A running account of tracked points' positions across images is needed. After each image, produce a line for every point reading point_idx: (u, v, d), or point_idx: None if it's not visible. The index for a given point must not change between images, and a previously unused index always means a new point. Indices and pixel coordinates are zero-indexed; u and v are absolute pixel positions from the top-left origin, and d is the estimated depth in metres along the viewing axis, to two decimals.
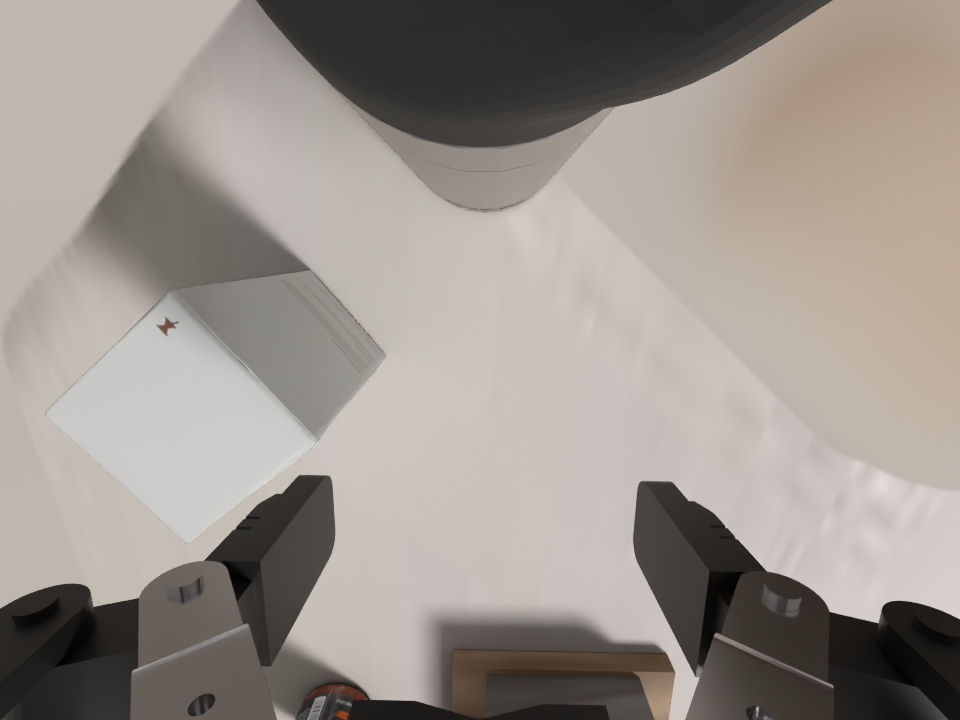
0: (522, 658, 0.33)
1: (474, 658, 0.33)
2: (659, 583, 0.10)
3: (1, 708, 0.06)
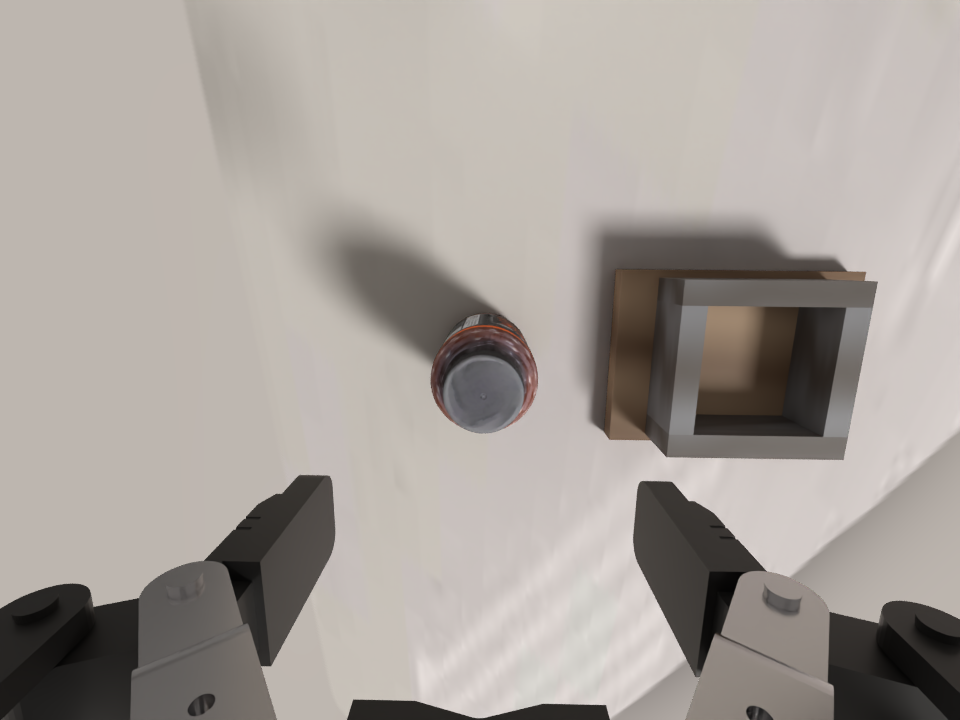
0: None
1: None
2: (659, 583, 0.10)
3: (1, 708, 0.06)
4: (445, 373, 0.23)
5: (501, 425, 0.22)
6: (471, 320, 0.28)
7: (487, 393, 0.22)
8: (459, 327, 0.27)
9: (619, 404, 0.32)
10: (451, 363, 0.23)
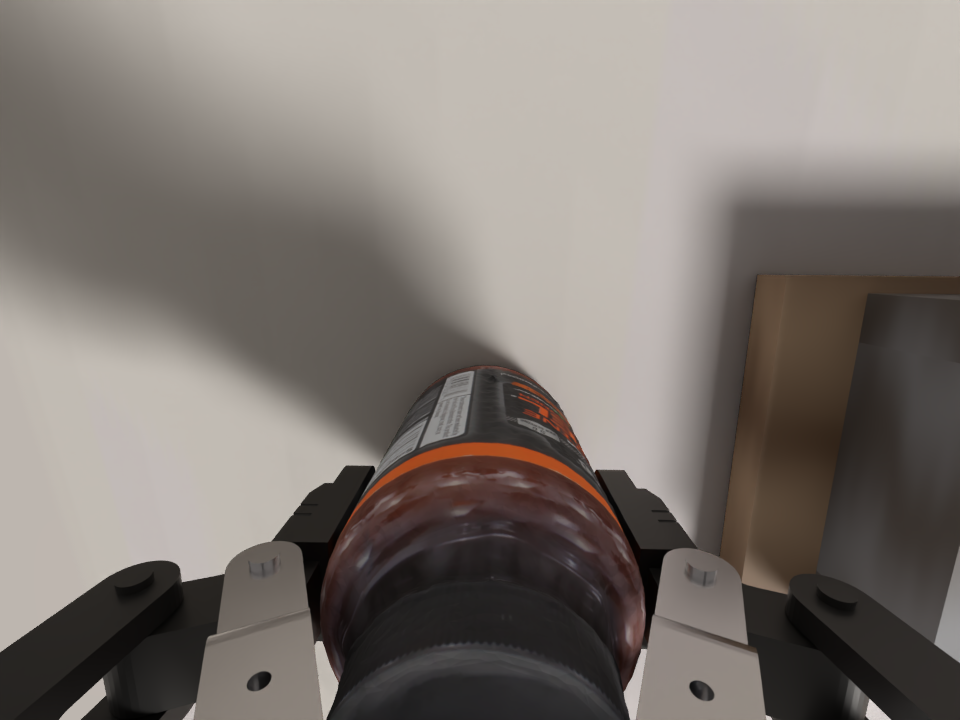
0: (932, 276, 0.14)
1: (821, 275, 0.14)
2: None
3: (95, 673, 0.06)
4: (352, 627, 0.07)
5: None
6: (452, 398, 0.12)
7: None
8: (420, 422, 0.11)
9: (761, 552, 0.15)
10: (370, 600, 0.07)
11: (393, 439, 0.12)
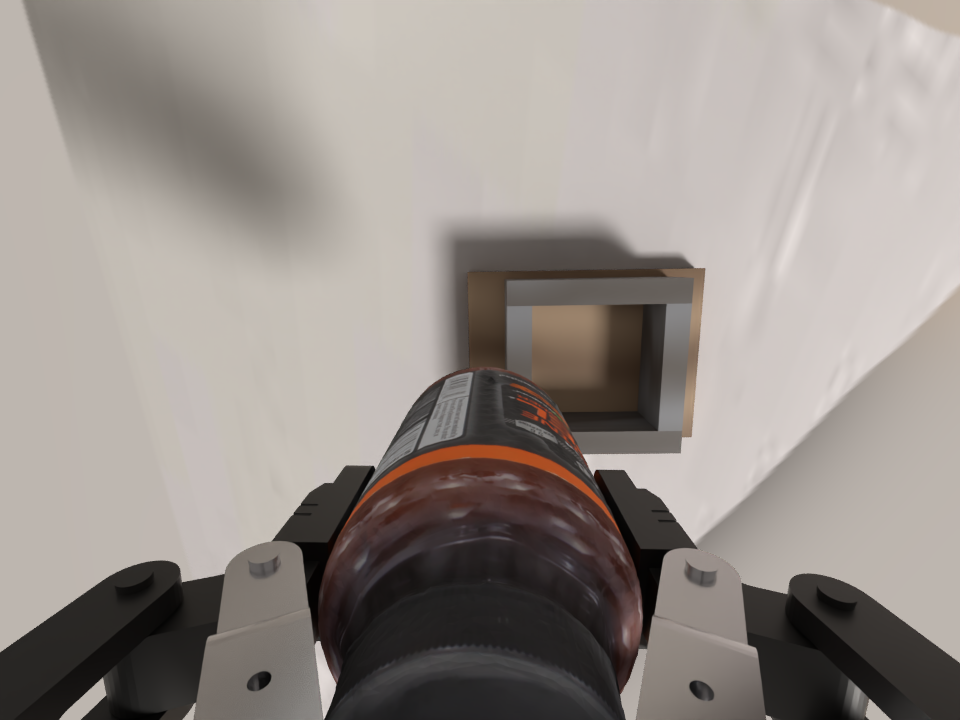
0: None
1: None
2: None
3: (95, 673, 0.06)
4: (350, 629, 0.07)
5: None
6: (450, 400, 0.12)
7: None
8: (418, 424, 0.11)
9: None
10: (367, 602, 0.07)
11: (392, 440, 0.13)
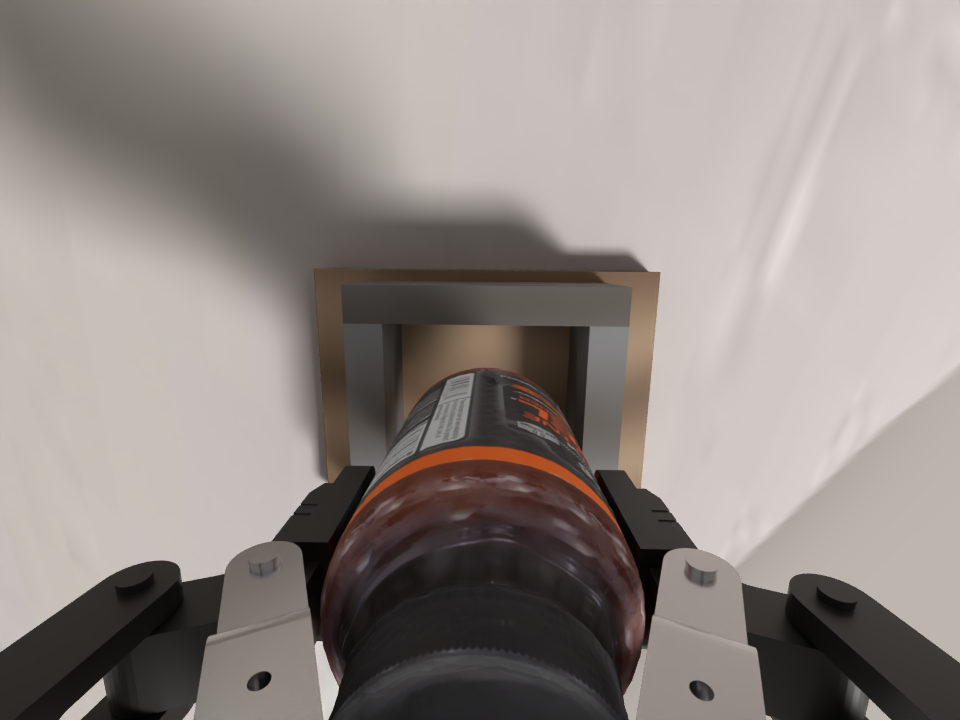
0: None
1: None
2: None
3: (95, 673, 0.06)
4: (352, 631, 0.07)
5: None
6: (452, 401, 0.12)
7: None
8: (420, 425, 0.11)
9: (336, 456, 0.23)
10: (370, 605, 0.07)
11: None
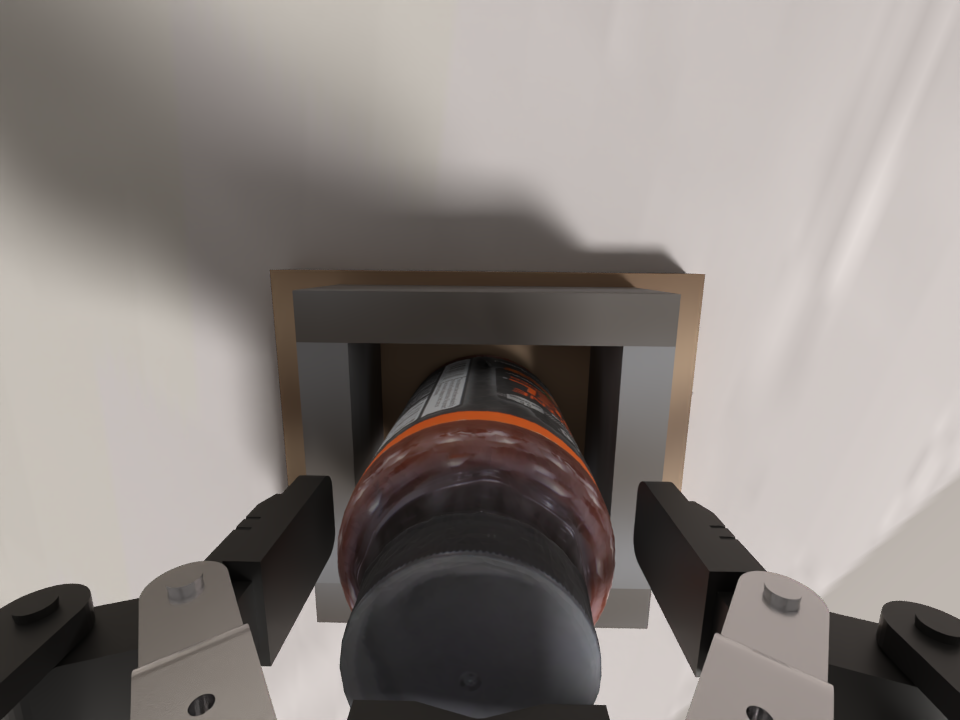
0: None
1: None
2: (659, 583, 0.10)
3: (1, 708, 0.06)
4: (366, 560, 0.08)
5: None
6: (449, 380, 0.13)
7: (484, 670, 0.07)
8: (421, 400, 0.12)
9: None
10: (380, 536, 0.08)
11: None
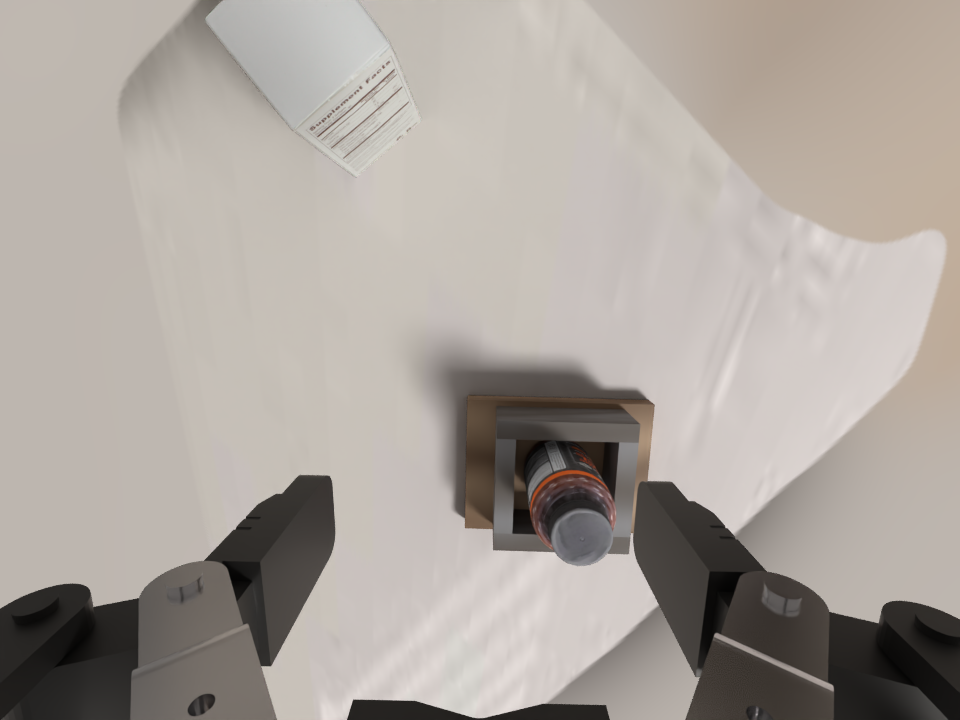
0: (526, 398, 0.39)
1: (485, 397, 0.39)
2: (659, 583, 0.10)
3: (1, 708, 0.06)
4: (547, 514, 0.30)
5: (595, 560, 0.29)
6: (554, 454, 0.35)
7: (586, 536, 0.28)
8: (546, 463, 0.34)
9: (471, 501, 0.40)
10: (552, 507, 0.30)
11: (531, 467, 0.36)
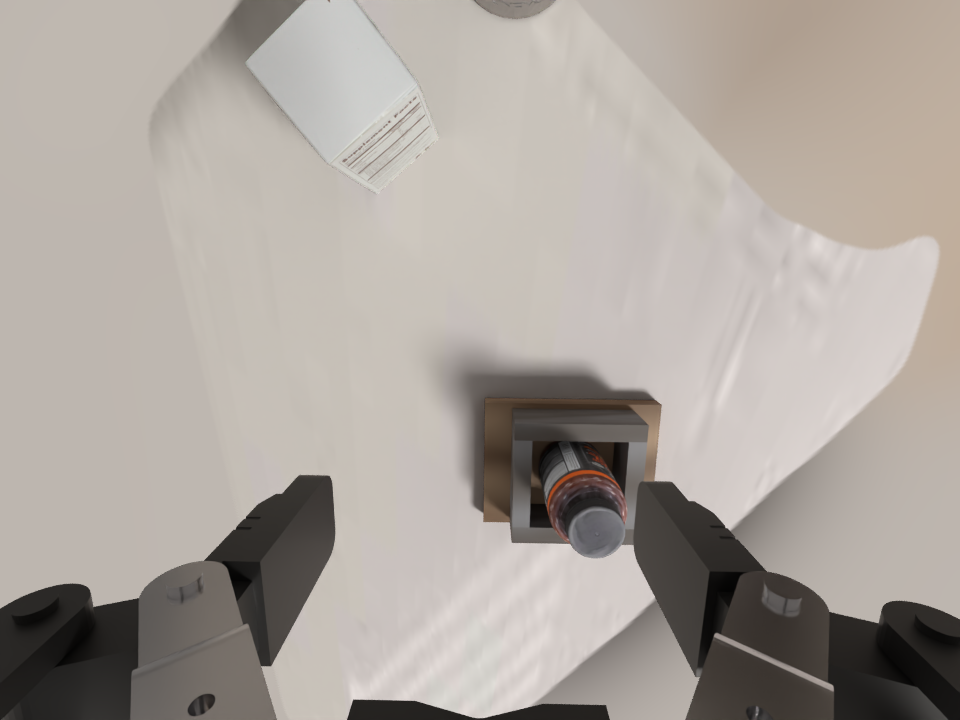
0: (540, 400, 0.42)
1: (501, 400, 0.42)
2: (659, 583, 0.10)
3: (1, 708, 0.06)
4: (563, 511, 0.33)
5: (609, 553, 0.31)
6: (568, 454, 0.37)
7: (600, 532, 0.31)
8: (561, 462, 0.36)
9: (489, 496, 0.43)
10: (568, 504, 0.32)
11: (546, 466, 0.38)
